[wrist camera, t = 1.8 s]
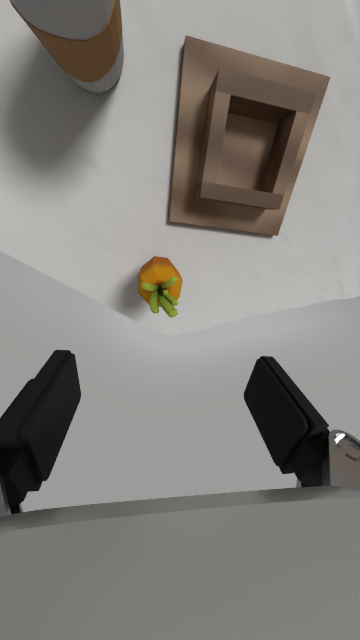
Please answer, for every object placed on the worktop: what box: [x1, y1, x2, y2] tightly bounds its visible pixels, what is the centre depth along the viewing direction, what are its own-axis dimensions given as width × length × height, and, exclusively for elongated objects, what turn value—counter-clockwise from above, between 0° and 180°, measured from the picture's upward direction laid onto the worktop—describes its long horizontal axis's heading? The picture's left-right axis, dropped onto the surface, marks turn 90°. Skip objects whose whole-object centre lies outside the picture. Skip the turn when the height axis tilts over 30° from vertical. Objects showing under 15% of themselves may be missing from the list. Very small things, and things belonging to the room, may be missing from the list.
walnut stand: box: [169, 36, 330, 236], centre depth 23 cm, size 16×16×4 cm
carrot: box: [138, 256, 182, 317], centre depth 23 cm, size 5×5×15 cm
